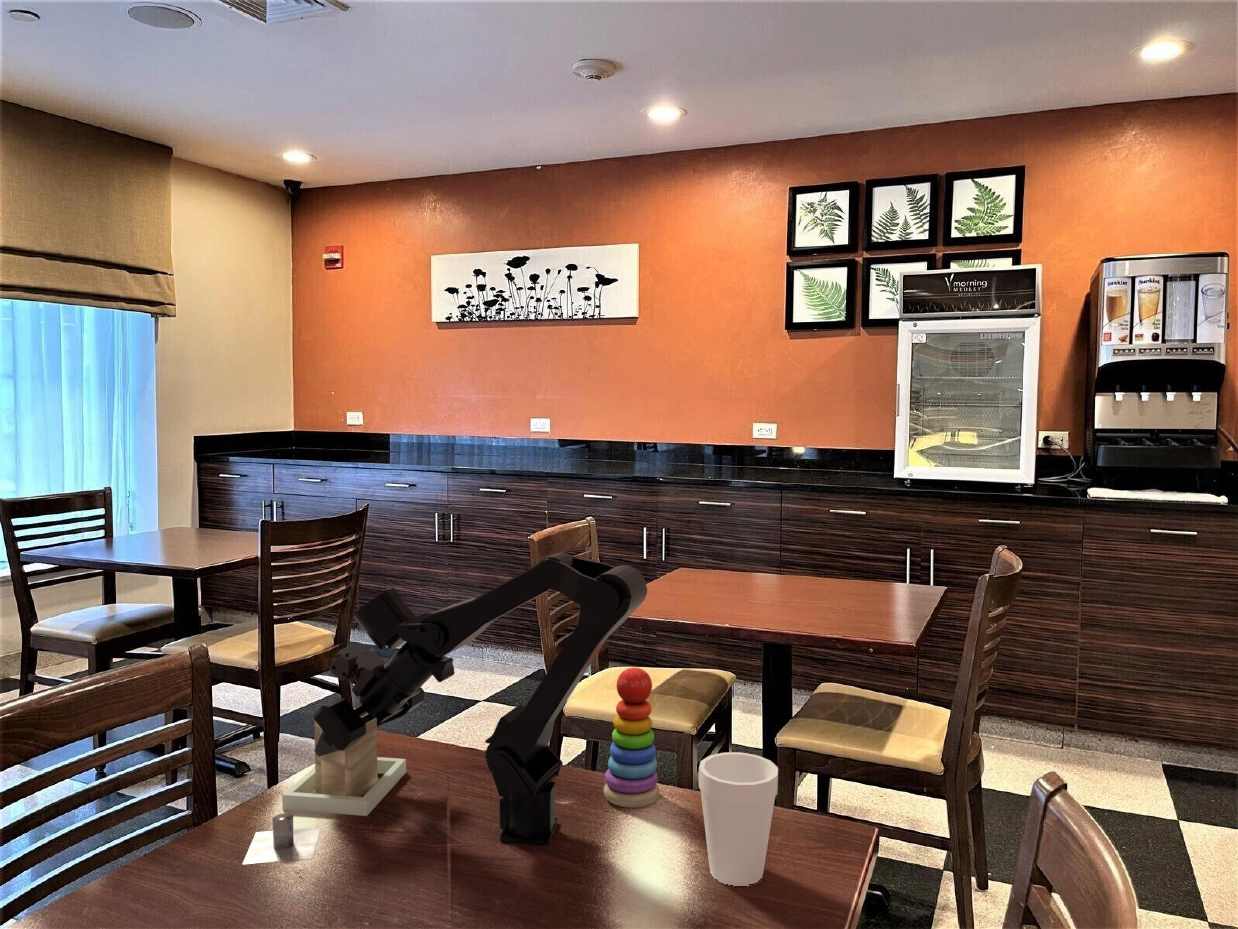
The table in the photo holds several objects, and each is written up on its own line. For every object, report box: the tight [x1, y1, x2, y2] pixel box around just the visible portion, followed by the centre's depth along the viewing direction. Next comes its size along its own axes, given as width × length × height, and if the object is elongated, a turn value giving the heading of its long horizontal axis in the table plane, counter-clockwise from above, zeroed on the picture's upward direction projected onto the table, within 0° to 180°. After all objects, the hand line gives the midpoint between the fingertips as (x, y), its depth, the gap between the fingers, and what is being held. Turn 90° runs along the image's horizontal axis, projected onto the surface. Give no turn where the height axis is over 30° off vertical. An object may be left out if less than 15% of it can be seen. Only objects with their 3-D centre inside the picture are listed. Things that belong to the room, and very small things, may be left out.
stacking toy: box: [603, 667, 661, 809], centre depth 127 cm, size 8×8×19 cm
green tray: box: [281, 756, 407, 817], centre depth 127 cm, size 12×14×3 cm
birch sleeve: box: [313, 707, 379, 797], centre depth 127 cm, size 8×6×11 cm
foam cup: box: [698, 752, 779, 887], centre depth 107 cm, size 10×9×13 cm
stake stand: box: [241, 812, 322, 866], centre depth 111 cm, size 8×8×4 cm
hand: (338, 741), depth 127 cm, fingers open, 9 cm apart
